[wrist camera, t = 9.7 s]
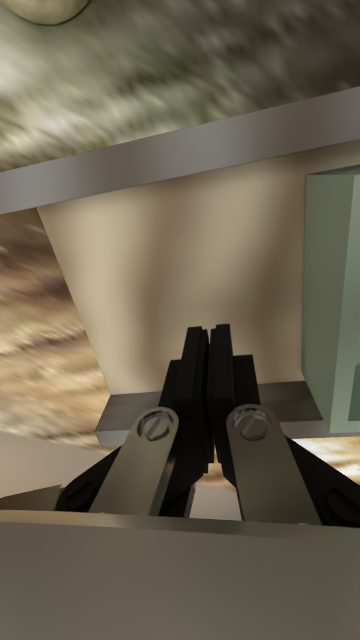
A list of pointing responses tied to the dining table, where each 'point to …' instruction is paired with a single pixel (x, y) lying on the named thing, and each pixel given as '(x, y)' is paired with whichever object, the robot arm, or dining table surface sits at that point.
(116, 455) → the robot arm
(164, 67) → the dining table surface
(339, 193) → the box
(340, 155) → the bay
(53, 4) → the beer glass
